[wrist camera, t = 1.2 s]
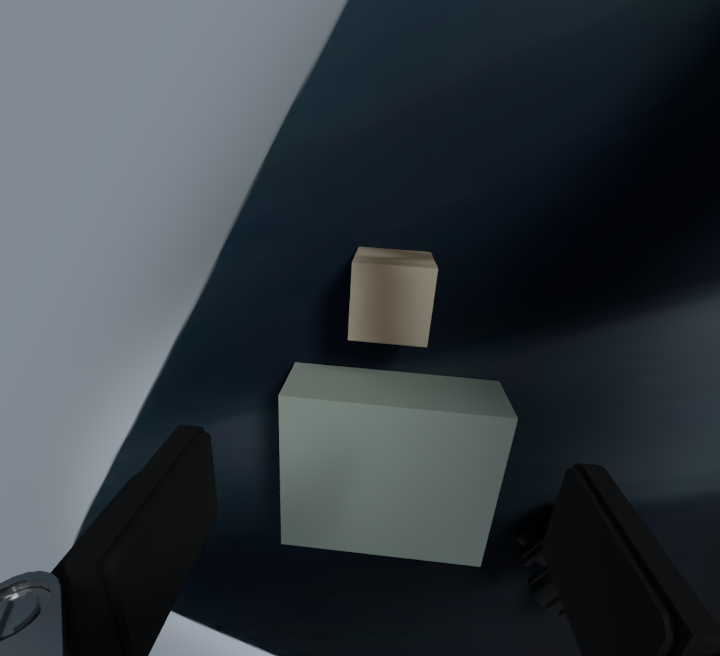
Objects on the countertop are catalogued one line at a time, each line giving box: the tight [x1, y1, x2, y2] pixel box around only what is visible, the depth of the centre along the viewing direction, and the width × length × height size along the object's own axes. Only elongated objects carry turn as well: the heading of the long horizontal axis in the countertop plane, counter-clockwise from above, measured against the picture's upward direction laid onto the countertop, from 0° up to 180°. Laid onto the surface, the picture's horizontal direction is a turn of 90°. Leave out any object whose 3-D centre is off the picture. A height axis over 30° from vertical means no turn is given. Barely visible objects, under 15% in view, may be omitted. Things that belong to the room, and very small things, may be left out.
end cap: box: [516, 506, 567, 618], centre depth 33 cm, size 10×7×7 cm
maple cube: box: [348, 247, 438, 347], centre depth 26 cm, size 5×5×5 cm
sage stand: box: [278, 362, 518, 567], centre depth 31 cm, size 16×14×5 cm
